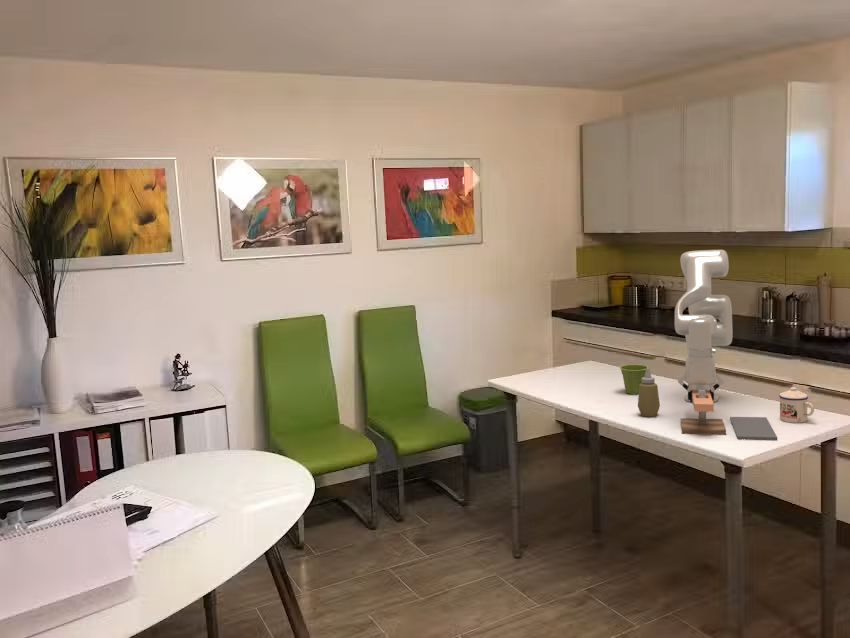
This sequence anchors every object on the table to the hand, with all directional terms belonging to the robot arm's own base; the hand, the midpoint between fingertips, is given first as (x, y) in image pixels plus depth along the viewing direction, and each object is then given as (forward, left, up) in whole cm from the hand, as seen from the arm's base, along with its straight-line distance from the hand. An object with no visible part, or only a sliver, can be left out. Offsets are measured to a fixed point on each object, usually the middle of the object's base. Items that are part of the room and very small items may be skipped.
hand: (700, 401), depth 255 cm
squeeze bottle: (-9, -18, -8) cm, 22 cm away
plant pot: (-44, -24, -8) cm, 50 cm away
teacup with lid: (-5, +32, -8) cm, 33 cm away
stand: (+7, 0, -8) cm, 11 cm away
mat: (+7, +16, -8) cm, 19 cm away
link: (+7, 0, +1) cm, 7 cm away
